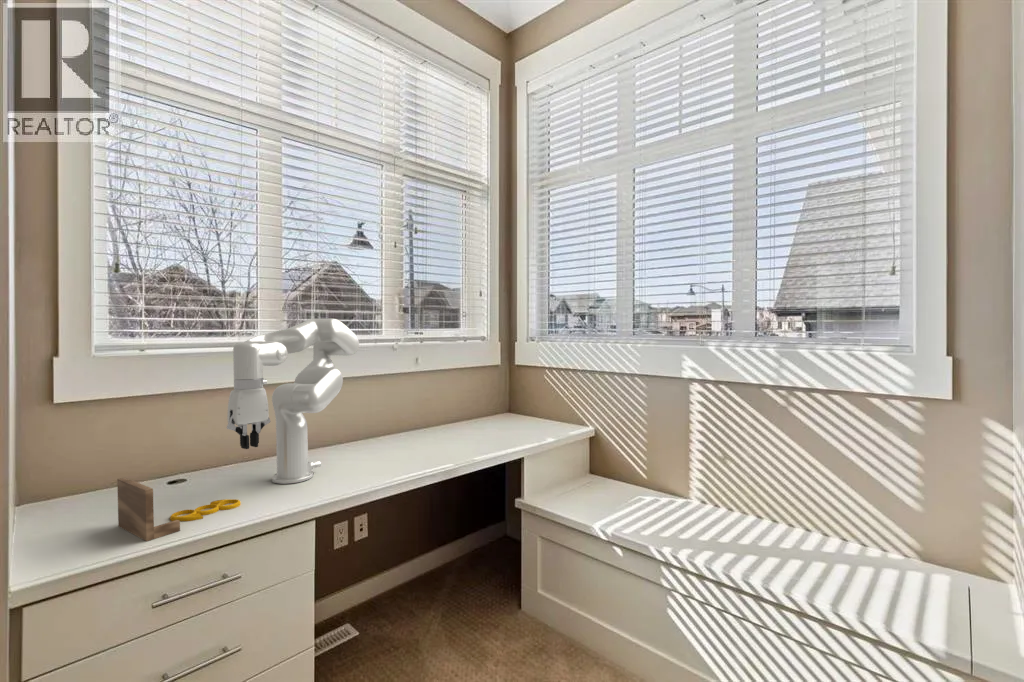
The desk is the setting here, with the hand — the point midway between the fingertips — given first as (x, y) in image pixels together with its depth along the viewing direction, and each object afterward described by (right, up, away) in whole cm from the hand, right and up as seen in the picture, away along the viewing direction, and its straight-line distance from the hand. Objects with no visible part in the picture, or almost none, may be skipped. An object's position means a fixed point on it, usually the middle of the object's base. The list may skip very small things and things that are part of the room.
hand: (249, 447), depth 142 cm
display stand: (-14, -16, -21) cm, 30 cm away
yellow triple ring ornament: (-6, -16, -10) cm, 20 cm away
